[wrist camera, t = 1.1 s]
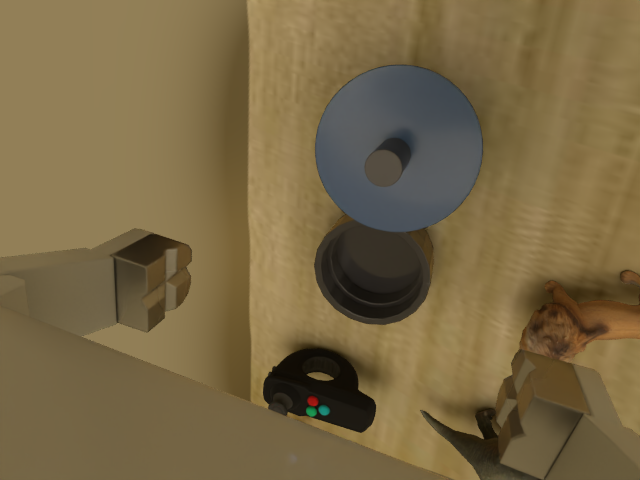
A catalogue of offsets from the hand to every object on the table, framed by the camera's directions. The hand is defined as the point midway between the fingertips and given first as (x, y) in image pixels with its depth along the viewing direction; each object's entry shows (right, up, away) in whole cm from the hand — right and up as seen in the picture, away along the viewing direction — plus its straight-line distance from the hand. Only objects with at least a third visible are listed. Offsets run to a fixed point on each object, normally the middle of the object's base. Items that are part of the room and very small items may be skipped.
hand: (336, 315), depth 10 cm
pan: (+6, 0, +34) cm, 35 cm away
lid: (+5, +8, +21) cm, 23 cm away
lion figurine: (+25, -4, +30) cm, 39 cm away
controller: (+2, -13, +42) cm, 43 cm away
